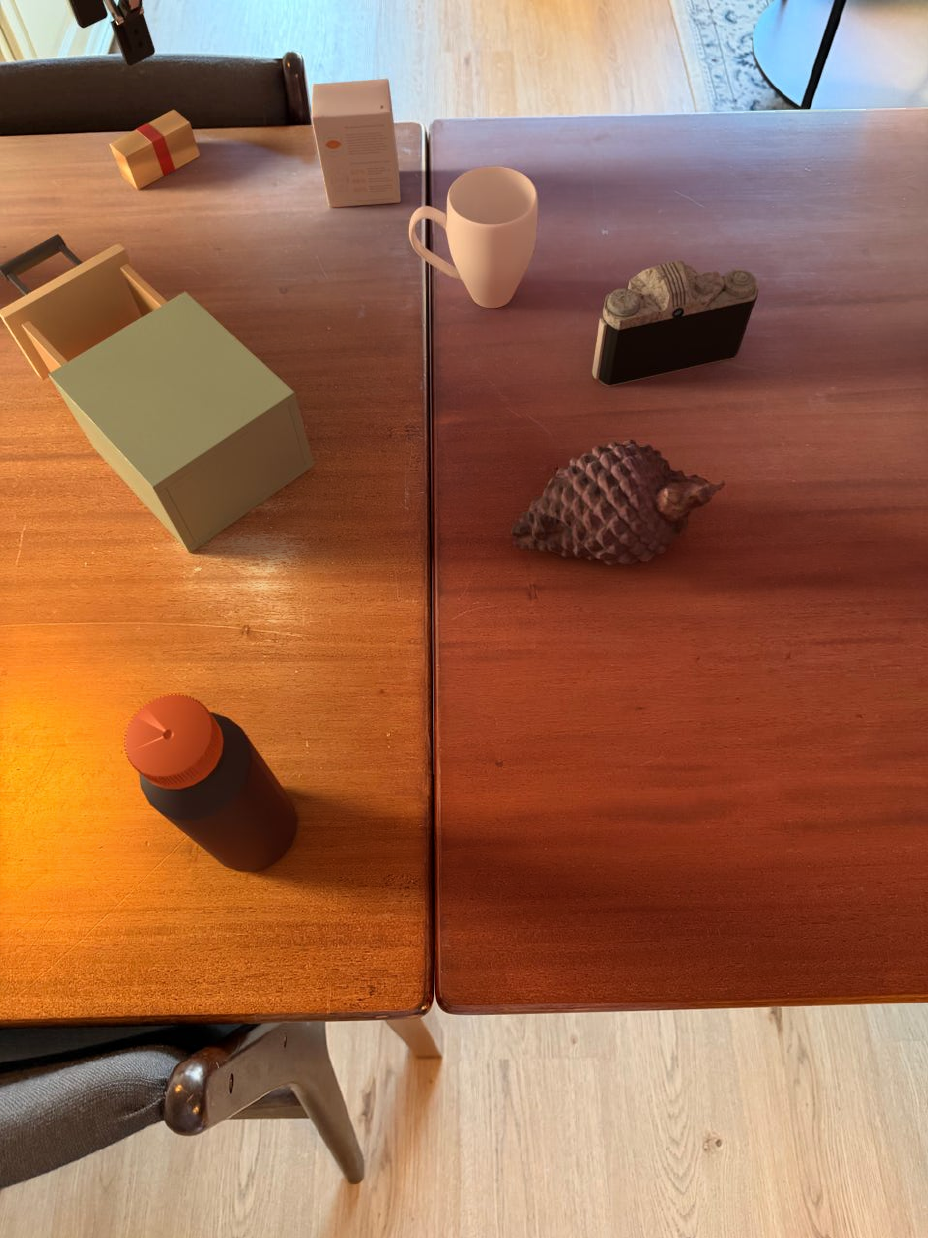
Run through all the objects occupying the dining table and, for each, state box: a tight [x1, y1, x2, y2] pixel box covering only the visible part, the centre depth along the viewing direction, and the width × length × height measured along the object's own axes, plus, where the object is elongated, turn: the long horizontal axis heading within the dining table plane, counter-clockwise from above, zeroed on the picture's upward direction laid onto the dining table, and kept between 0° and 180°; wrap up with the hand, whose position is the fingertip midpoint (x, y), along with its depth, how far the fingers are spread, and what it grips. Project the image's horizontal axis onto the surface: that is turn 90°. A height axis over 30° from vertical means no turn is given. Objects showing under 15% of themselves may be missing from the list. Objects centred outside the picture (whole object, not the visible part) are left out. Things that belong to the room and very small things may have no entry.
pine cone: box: [510, 439, 726, 566], centre depth 74 cm, size 18×10×10 cm
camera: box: [591, 260, 759, 387], centre depth 83 cm, size 15×7×10 cm, turn 105°
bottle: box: [123, 693, 299, 873], centre depth 58 cm, size 7×7×20 cm
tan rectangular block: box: [109, 109, 201, 191], centre depth 100 cm, size 3×8×4 cm, turn 133°
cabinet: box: [48, 291, 316, 554], centre depth 79 cm, size 16×14×10 cm
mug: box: [408, 165, 539, 309], centre depth 87 cm, size 12×8×11 cm
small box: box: [311, 78, 401, 208], centre depth 95 cm, size 8×6×10 cm
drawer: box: [0, 233, 168, 381], centre depth 84 cm, size 22×13×8 cm, turn 42°
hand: (116, 39), depth 90 cm, fingers open, 8 cm apart
